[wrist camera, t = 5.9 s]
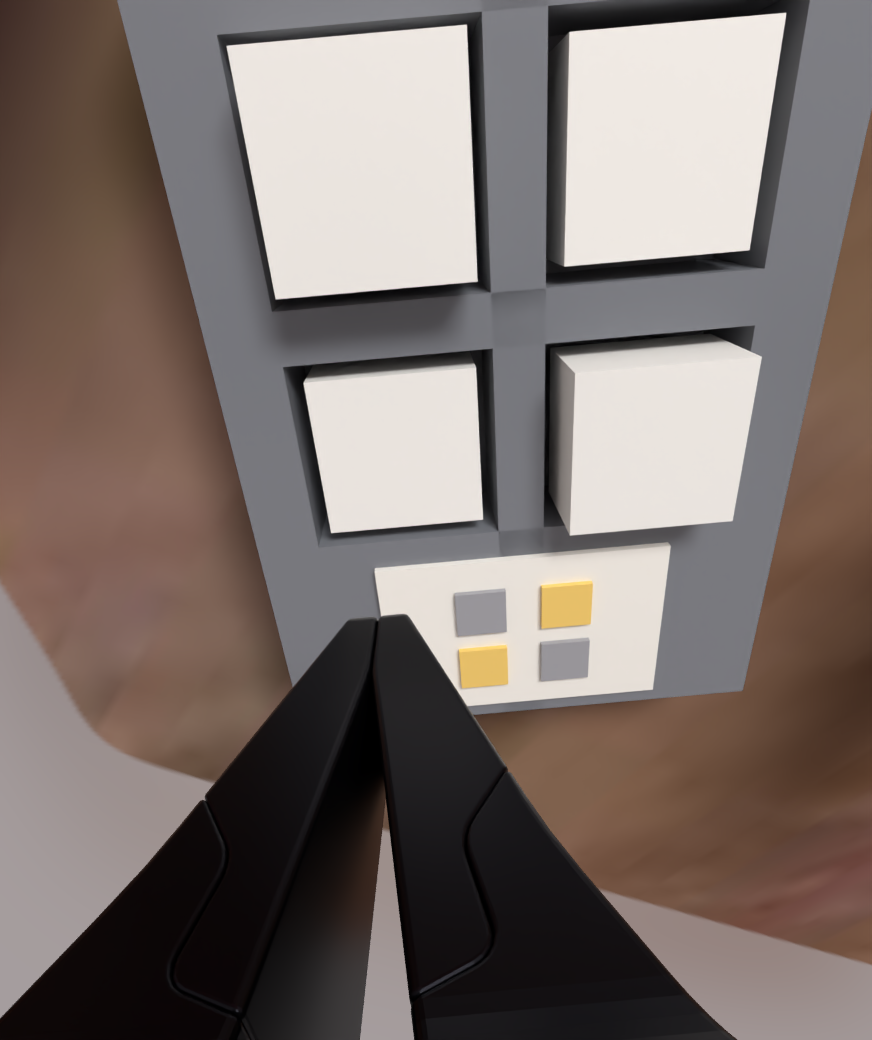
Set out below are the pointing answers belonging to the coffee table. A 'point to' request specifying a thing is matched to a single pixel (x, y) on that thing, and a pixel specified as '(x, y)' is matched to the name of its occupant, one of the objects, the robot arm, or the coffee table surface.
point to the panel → (511, 350)
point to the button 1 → (361, 159)
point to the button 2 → (397, 440)
